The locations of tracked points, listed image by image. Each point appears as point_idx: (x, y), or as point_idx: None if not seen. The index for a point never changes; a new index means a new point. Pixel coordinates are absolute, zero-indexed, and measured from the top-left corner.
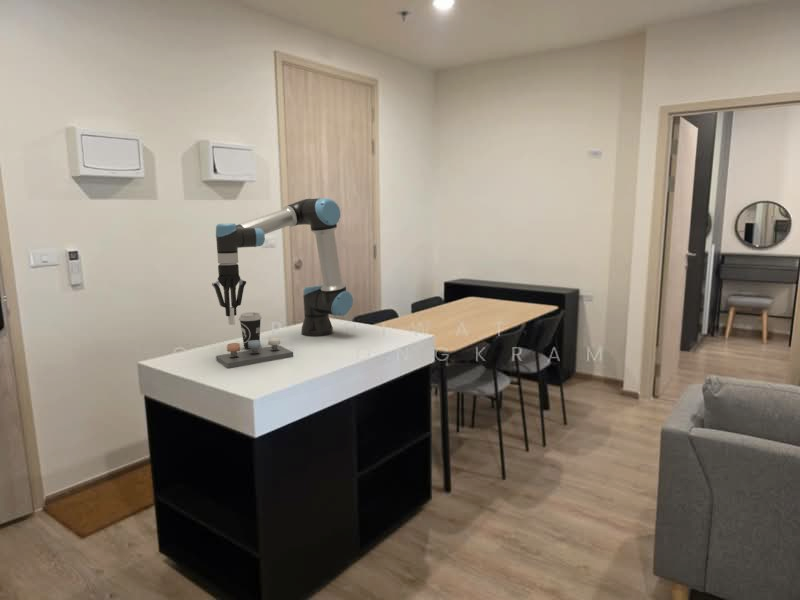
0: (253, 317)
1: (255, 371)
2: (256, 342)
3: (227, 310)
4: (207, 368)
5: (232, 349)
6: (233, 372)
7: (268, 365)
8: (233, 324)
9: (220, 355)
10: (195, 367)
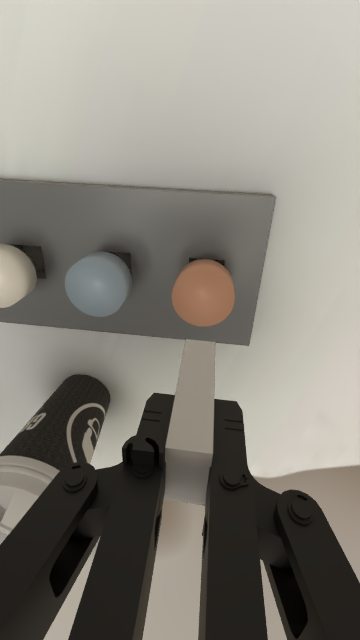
0: (13, 474)
1: (198, 34)
2: (91, 259)
3: (235, 449)
4: (330, 257)
5: (221, 267)
6: (287, 103)
7: (107, 107)
8: (196, 340)
9: (234, 336)
10: (352, 302)
